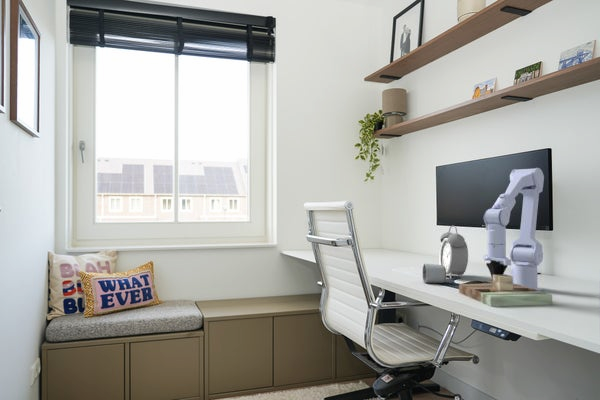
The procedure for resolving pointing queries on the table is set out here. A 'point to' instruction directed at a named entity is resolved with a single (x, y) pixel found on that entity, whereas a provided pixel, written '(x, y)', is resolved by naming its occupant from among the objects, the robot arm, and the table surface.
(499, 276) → the birch block
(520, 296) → the trap deck
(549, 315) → the table surface
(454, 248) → the alarm clock
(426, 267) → the ceramic mug
